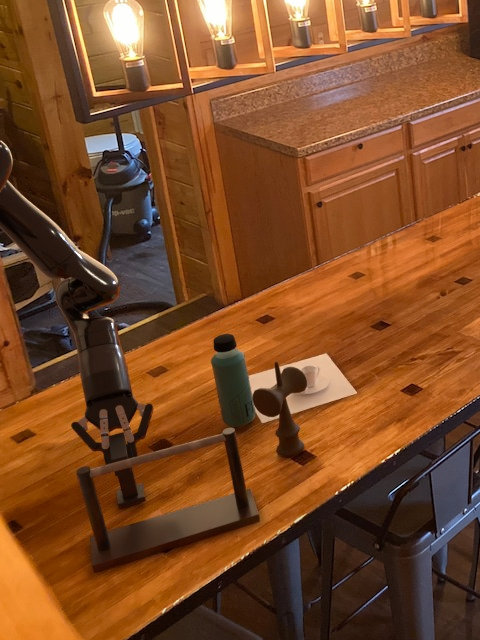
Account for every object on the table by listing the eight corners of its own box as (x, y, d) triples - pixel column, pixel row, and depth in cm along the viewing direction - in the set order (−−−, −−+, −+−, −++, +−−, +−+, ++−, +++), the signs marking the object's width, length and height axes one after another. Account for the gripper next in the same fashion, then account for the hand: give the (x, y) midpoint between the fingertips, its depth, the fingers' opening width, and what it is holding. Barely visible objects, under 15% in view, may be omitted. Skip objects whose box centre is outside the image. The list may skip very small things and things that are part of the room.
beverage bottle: (251, 433, 188) (235, 346, 180) (218, 433, 188) (200, 346, 180) (262, 414, 194) (246, 329, 186) (229, 415, 194) (213, 329, 186)
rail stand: (93, 573, 153) (69, 488, 147) (91, 543, 160) (68, 460, 153) (260, 521, 165) (245, 439, 158) (251, 494, 171) (237, 415, 164)
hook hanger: (117, 494, 171) (101, 434, 166) (143, 487, 173) (129, 427, 167) (120, 523, 164) (104, 461, 158) (148, 515, 166) (133, 454, 160)
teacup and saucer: (294, 401, 199) (291, 384, 197) (282, 384, 205) (280, 368, 203) (334, 388, 203) (332, 372, 202) (322, 372, 209) (320, 356, 208)
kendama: (262, 462, 180) (245, 371, 172) (292, 434, 188) (278, 346, 180) (288, 468, 178) (273, 377, 170) (318, 439, 186) (305, 351, 178)
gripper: (57, 379, 164) (75, 476, 159) (145, 359, 170) (165, 452, 165) (63, 390, 170) (81, 484, 165) (148, 371, 176) (167, 460, 171)
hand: (123, 467), depth 165 cm, fingers closed on hook hanger, 2 cm apart
